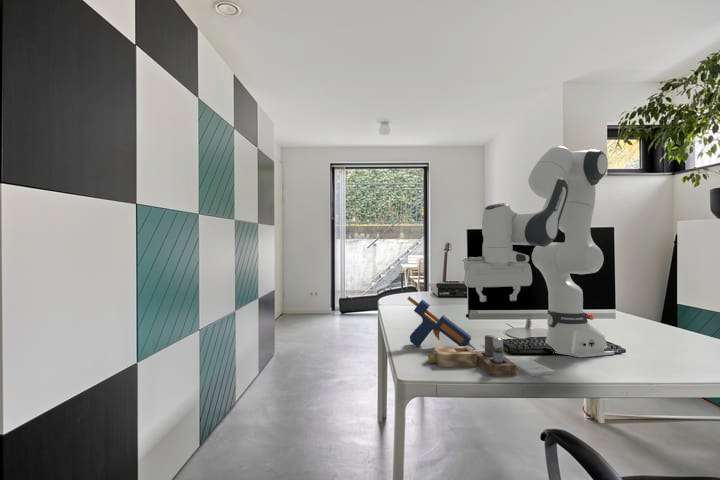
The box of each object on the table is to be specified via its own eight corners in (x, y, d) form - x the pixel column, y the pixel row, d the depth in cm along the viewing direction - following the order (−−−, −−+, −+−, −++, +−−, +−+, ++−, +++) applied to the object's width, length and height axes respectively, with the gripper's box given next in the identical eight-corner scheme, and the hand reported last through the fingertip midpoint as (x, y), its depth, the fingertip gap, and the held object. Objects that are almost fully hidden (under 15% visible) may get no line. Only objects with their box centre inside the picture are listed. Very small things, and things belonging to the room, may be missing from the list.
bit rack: (497, 359, 136) (496, 333, 136) (516, 375, 121) (516, 345, 121) (473, 360, 136) (473, 333, 136) (490, 375, 121) (489, 345, 121)
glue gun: (455, 377, 149) (480, 346, 146) (387, 325, 153) (410, 294, 151) (455, 370, 155) (479, 340, 152) (389, 321, 159) (412, 291, 157)
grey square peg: (500, 369, 127) (500, 337, 127) (504, 372, 124) (504, 339, 124) (491, 369, 127) (491, 337, 126) (495, 372, 124) (495, 340, 123)
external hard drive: (528, 363, 135) (555, 375, 123) (506, 365, 133) (532, 378, 121) (528, 358, 135) (555, 370, 123) (506, 360, 133) (532, 372, 121)
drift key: (451, 360, 136) (451, 351, 136) (454, 363, 132) (454, 354, 132) (427, 360, 135) (427, 352, 135) (429, 363, 132) (429, 355, 132)
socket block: (467, 357, 139) (467, 346, 139) (476, 366, 130) (476, 353, 130) (433, 358, 138) (433, 346, 138) (439, 367, 129) (439, 354, 129)
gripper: (467, 257, 121) (468, 304, 121) (534, 256, 122) (534, 301, 122) (461, 256, 127) (461, 300, 128) (524, 254, 128) (525, 298, 129)
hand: (498, 301), depth 125 cm, fingers open, 8 cm apart
